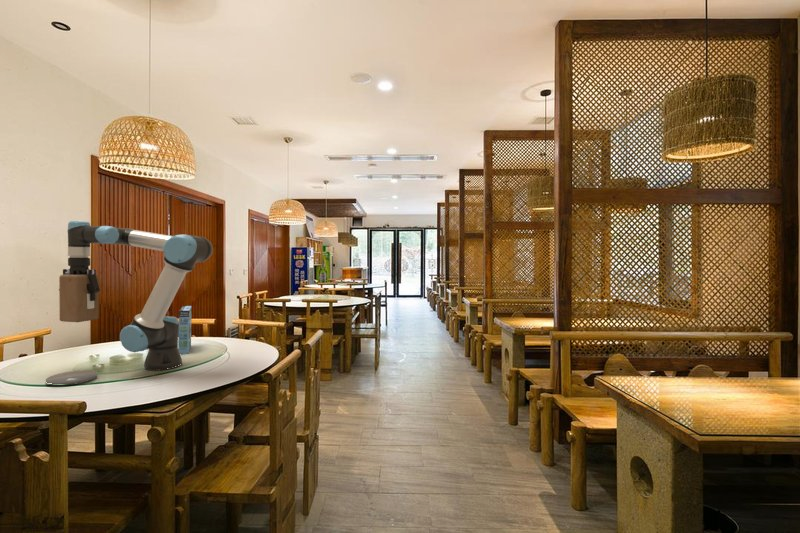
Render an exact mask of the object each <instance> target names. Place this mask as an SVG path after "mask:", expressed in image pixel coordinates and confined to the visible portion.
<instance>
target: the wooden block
mask: <svg viewBox="0 0 800 533" xmlns="http://www.w3.org/2000/svg"><path fill="white" fill-rule="evenodd" d="M58 277H59V280H58V281H59V282H58V283H59V285H58V287H59V288H58V291H59V296H58V298H59V299H58V300H59V321H60V322H63V323H64V322H65V323H67V322H69V323H81V322H90V321H95V320H98V319H99V318H100V316H99V314H100V313H99V312H100V310H99V309H100V308H99V307H100V306H99V302H100V299H99V298H100V297H99V295H100V294H99V292H100V291H99V292H96V293H95V301H94V308H92V309H87V294H88V290H87V284H90V280H89V277H88V274H87V275H75V274H74V275H71V274H65V275H63V274H61V275H59V276H58ZM96 278H97V282H98V285H99V283H100V282H99V280H100V278H99V275H98V274H96Z"/></svg>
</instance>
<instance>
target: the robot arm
mask: <svg viewBox="0 0 800 533" xmlns="http://www.w3.org/2000/svg"><path fill="white" fill-rule="evenodd" d="M91 244H99V245H101V244H103V245H122V246H130V247H136V248H140V249H141V248H142V249H147V250H153V251H159V252H163V256H164V257H163V263H164V267H163V268H162V270H161V273H160V275H159V276H158V279H157V281H156V283H155V284H154V287H153V289H152V290H151V293H150V295H149V296H148V299H147V300H146V303H145V305H144V307H143V308H142V311H141V313H138V314H136V315H134V317H133V318H132V321H131V323H130V324H129V325H126V326H124V327H123V328H122V329H121V330H120V333H119V341H120V342H121V346H122V347H123V348H124V349H125V350H126V351H128V352H131V353H138V352H144V351H146V350H148V352H147V354H146V358H145V360H144V364H143V368H144V370H146V371H147V370H148V371H163V370H162V369H165V370H168V369H167V368H171V369H173V368H172V367H175V366H178V365H180V364H182V365H183V358H182V354H181V355H180V352H179V350H178V336H179V318H178V317H176V316H169V315H168V316H166V315H167V312H168V310H169V308H170V307H171V305H172V303H173V301H174V299H175V296H176V294H177V293H178V291H179V289H180V286H181V284H182V283H183V281H184V280H185V277H186V275H187V273H190V272H192V271H193V270H194V267H195V265H196V264H197V263H203V262H205V261H207V260H208V259H210V258H211V256H213V251H214V248H213V247H214V246H213V244H212V243H211V240H209V239H207V238H206V237H204V236H200V235H189V234H184V233H183V234H175V235H170V234H169V235H168V234H162V233H156V232H150V231H149V232H148V231H145V230H137V229H132V228H123V227H115V226H111V225H110V226H109V225H95V226H94V225H91V223H90V222H89V221H85V220H84V221H83V220H82V221H81V220H70V221H69V222H68V224H67V256H68V258H67V266H69V268H64V269H62V275H65V274H71V275H74V274H75V275H87V274H88V277H89V280H90V284H87V290H88V294H87V309H92V308H94V301H95V293H96V292H100V291H101V290H100V286H99V285H98V282H97V278H96V275H97V273H96V269H90V266H91V258H90V256H91ZM178 367H179V366H178ZM175 368H176V367H175Z"/></svg>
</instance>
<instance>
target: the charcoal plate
mask: <svg viewBox="0 0 800 533" xmlns="http://www.w3.org/2000/svg"><path fill="white" fill-rule="evenodd" d="M97 377H98V371H96V370H89V369H87V370H72V371H66V372H61V373H57V374H56V373H55V374H53V375H50V376H48V377H47V378H45V383H46V382H47V383H52V384H71V385H76V384H75V383H77V384H81V382H82V383H84V382H87V381H92V380H93V379H96V378H97Z"/></svg>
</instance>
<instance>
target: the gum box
mask: <svg viewBox="0 0 800 533" xmlns="http://www.w3.org/2000/svg"><path fill="white" fill-rule="evenodd" d="M192 308H193V306H192V305H186V306H185V305H182V306H181V308H180V309H179V310H178V324H179V326H178V350H179V352H180V354H181V355H188V354H189V353H190V350H191V348H192Z"/></svg>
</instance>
